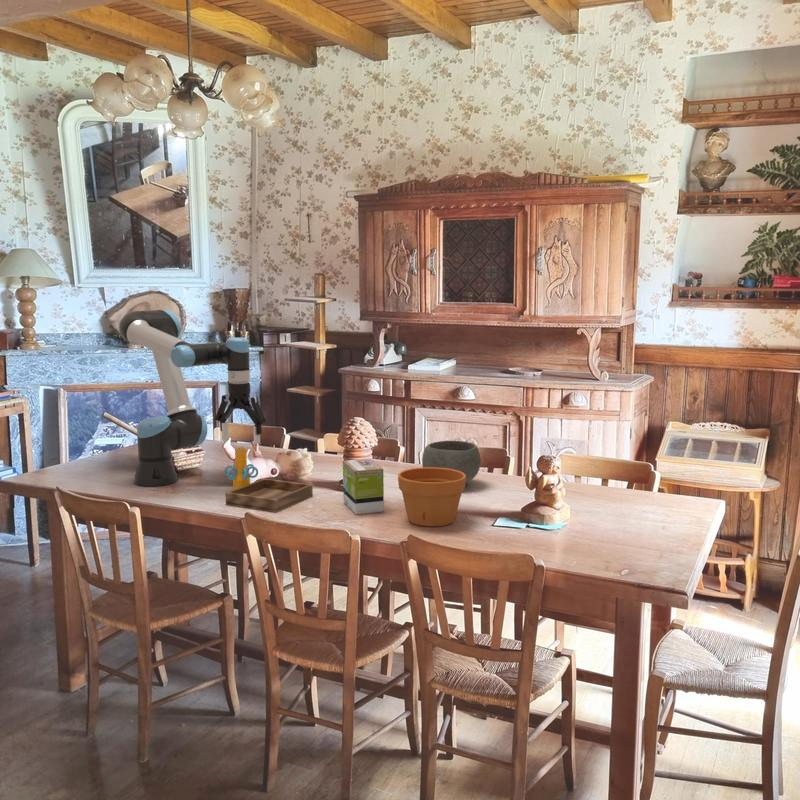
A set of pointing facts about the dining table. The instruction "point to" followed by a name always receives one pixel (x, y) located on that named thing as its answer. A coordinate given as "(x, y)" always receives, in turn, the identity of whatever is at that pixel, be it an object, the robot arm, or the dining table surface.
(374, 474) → the tea box
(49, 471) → the dining table surface
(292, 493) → the tray
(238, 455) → the orange toy with wheels
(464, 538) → the dining table surface
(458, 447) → the bowl
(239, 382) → the robot arm
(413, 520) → the flower pot
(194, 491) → the dining table surface
